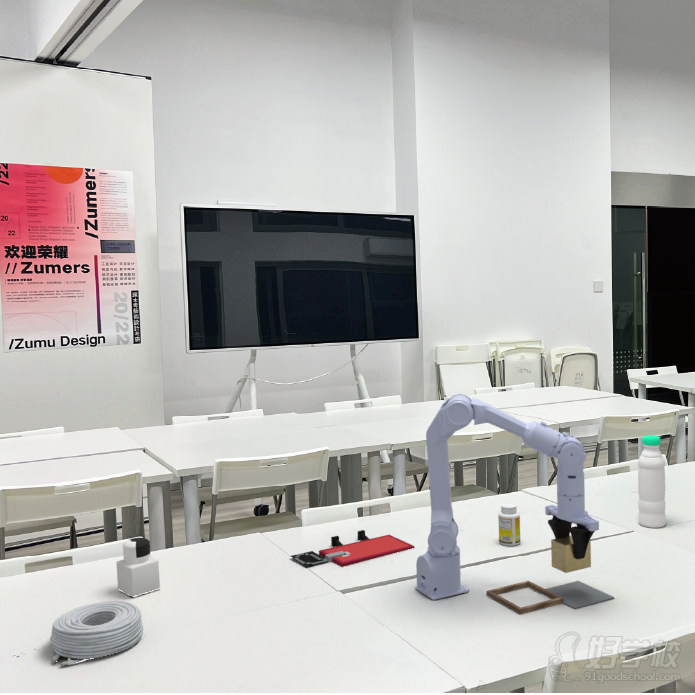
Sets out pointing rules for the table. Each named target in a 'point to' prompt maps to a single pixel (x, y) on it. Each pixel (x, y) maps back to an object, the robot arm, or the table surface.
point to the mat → (579, 594)
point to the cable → (96, 630)
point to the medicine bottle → (137, 568)
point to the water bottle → (651, 484)
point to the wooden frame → (529, 608)
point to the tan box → (568, 555)
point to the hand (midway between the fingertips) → (571, 554)
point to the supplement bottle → (509, 525)
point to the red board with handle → (355, 550)
